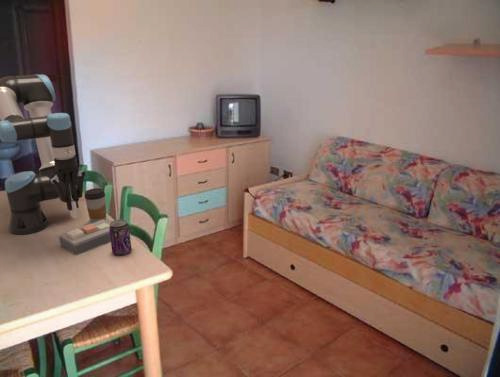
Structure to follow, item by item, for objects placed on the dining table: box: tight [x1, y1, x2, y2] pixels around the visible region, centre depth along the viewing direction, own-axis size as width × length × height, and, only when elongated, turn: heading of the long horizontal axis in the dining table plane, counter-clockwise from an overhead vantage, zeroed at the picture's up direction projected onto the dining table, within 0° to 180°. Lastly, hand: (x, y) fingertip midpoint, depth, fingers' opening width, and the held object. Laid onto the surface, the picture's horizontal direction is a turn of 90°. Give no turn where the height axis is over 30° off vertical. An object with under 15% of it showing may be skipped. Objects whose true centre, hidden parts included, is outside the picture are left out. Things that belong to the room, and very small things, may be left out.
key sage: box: [96, 223, 110, 230], centre depth 178 cm, size 4×4×3 cm
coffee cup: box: [84, 187, 107, 224], centre depth 188 cm, size 8×8×15 cm
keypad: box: [58, 219, 111, 256], centre depth 174 cm, size 12×19×5 cm, turn 138°
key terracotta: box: [80, 223, 98, 235], centre depth 173 cm, size 4×4×3 cm
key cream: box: [66, 228, 84, 240], centre depth 169 cm, size 4×4×3 cm
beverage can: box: [109, 218, 132, 256], centre depth 164 cm, size 7×7×12 cm
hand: (74, 217), depth 167 cm, fingers closed
